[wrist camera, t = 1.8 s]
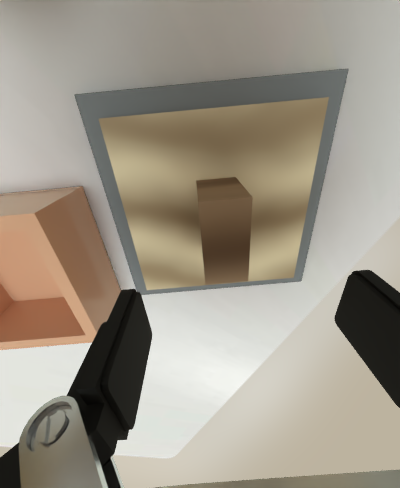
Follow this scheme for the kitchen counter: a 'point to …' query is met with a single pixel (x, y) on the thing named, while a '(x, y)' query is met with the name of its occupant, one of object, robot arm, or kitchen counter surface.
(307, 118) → the lid
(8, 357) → the kitchen counter surface
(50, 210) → the open wooden tray
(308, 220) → the mat
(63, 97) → the kitchen counter surface
